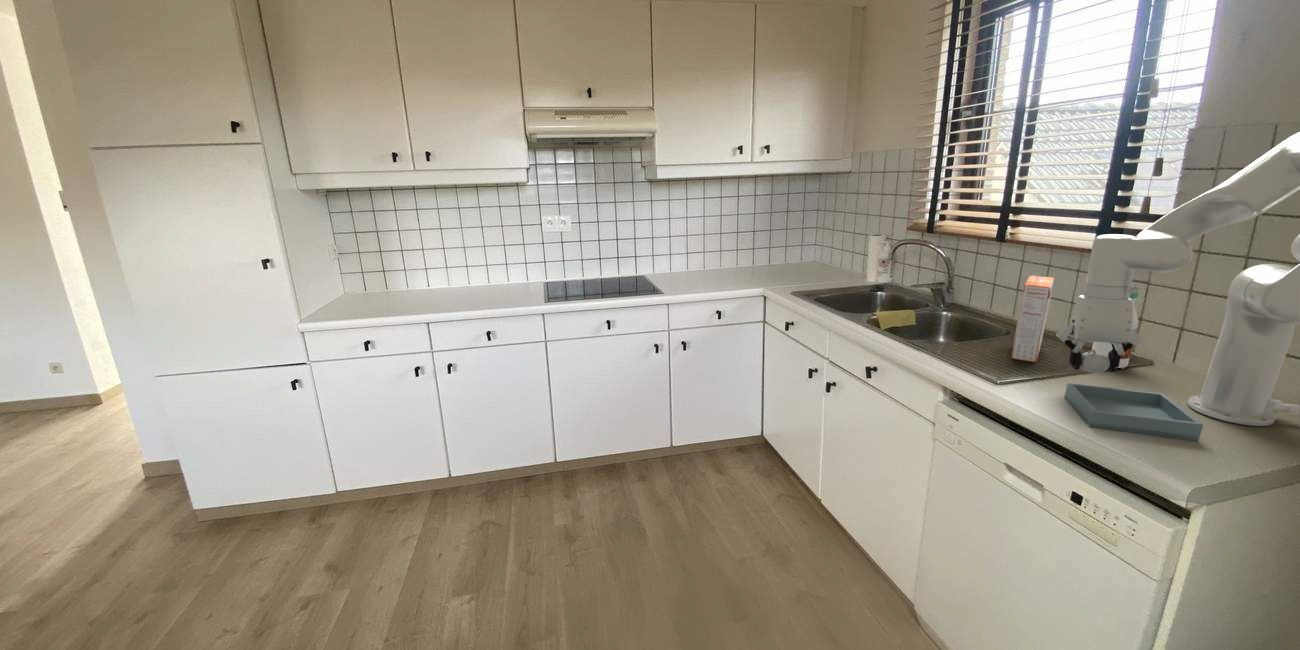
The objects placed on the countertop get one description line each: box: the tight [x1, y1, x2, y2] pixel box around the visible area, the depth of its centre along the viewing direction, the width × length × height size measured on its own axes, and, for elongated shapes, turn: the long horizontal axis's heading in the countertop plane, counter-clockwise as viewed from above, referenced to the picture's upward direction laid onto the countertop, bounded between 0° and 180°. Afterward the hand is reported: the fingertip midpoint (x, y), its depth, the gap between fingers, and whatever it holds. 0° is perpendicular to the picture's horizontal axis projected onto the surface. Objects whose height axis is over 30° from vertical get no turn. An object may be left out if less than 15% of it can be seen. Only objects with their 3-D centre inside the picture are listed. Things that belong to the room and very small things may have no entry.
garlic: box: [1079, 349, 1110, 374], centre depth 120 cm, size 6×5×5 cm
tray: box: [1064, 382, 1204, 442], centre depth 110 cm, size 17×15×4 cm
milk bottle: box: [1091, 291, 1139, 369], centre depth 136 cm, size 8×8×20 cm
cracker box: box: [1011, 275, 1055, 363], centre depth 144 cm, size 14×6×21 cm, turn 141°
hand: (1092, 367), depth 121 cm, fingers closed on garlic, 6 cm apart
